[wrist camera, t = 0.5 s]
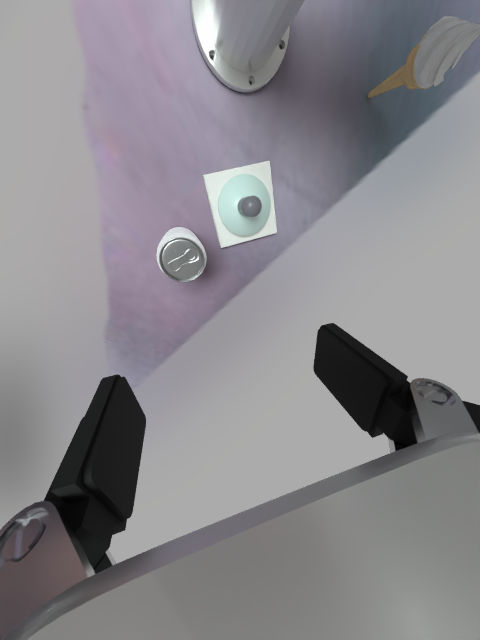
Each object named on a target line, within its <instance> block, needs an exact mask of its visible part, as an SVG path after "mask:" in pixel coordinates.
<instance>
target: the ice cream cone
mask: <svg viewBox="0 0 480 640" xmlns="http://www.w3.org/2000/svg"><path fill="white" fill-rule="evenodd" d="M479 35H480V24H476V23H472V22H469V21H465V20H463V19H458V18H456V17H451V16H444V17H443V18H442V19H440V20H439V21H437V22H436V23H435V24H434V25H433V26H432V27H431V28H430V29H429V30H428V31H427V32H426V33H425V35H424V36H423V37H422V39H421V41H420V42H419V43H418V45H416V46H415V47H414V48H413V49H412V51H411V52H410V54H409V56H408V58H407V60H406V63H405V65H404V66H402V67H401V68H400V69H398V70H397V71H396V72H394V73H393V74H392V75H391V76H389V77H388V78H387V79H386V80H384V81H383V82H382V83H381V84H379V85H378V86H377V87H376V88H374V89H373V90H372V91H370V92H369V94H368V98H371V97H374V96H376V95H379V94H381V93H384V92H386V91H389V90H392V89H394V88H397V87H399V86H401V85H404V84H405V85H406V87H407V88H408V89H411V90H413V89H416V88H419V89H422V90H423V89H427V88H430V87H431V86H432V85H434V87H435V86H437V85H438V84H439V83H441V82H442V81H444V74H445V72H446V71H447V70H448V69H449V68H450V67H451V69H453V68H454V66H455V65H456V64H457V62H458V61H459V60H460V58H461V56H462V54H463V52H464V51H465V50H467V49H468V48H469V47H470V45H471V44H472V43H473V41H474V40H475V39H476V38H477V37H478V36H479Z"/></svg>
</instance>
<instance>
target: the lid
mask: <svg viewBox="0 0 480 640" xmlns="http://www.w3.org/2000/svg"><path fill="white" fill-rule="evenodd" d="M270 209H271V201H270V195H269V192H268V190H267V188H266V186H265V185H264V183H263V182H262V181H261V180H260V179H258V178H257V177H255V176H253V175H250V174H240V175H237V176H235V177H233V178H231V179H230V180H229V181H228V182H227V183H226V184H225V185H224V186H223V188H222V190H221V192H220V195H219V199H218V212H219V216H220V218H221V221H222V223H223V224H224V226H225V227H226V228H227V229H228V230H229V231H231V232H232V233H235V234H237V235H240V236H249V235H252V234H255V233H256V232H258V231H259V230H260V229H261V228H262V227H263V226H264V225H265V223H266V222H267V220H268V217H269V214H270Z"/></svg>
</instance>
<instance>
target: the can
mask: <svg viewBox="0 0 480 640" xmlns="http://www.w3.org/2000/svg"><path fill="white" fill-rule="evenodd" d="M157 261H158V264H159V267H160V268H161V270H162V271H163V273H164V274H165V275H167V276H168V277H169V278H171V279H172V280H175V281H178V282H190V281H192V280H194V279H196V278H197V277H198V276H200V274H201V273H202V272H203V270H204V268H205V266H206V252H205V249H204V247H203V245H202V244H201V242H200V241H199V239H198V238H197V237H196V235H195V234H194V233H193V232H191V231H190V230H188V229H186V228H183V227H176V228H172V229H170V230H169V231H168V232H166V234H165V235H164V236H163V238H162V240H161V242H160V244H159V246H158V249H157Z"/></svg>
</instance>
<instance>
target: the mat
mask: <svg viewBox="0 0 480 640" xmlns="http://www.w3.org/2000/svg"><path fill="white" fill-rule="evenodd" d="M240 174H250V175H253V176H255V177H257V178H258V179H260V180H261V181H262V182H263V183H264V185H265V186H266V188H267V190H268V192H269V195H270V201H271V209H270V214H269V217H268V220H267V222H266V223H265V225H264V226H263V227H262V228H261V229H260V230H259V231H258V232H256V233H255V234H252V235H249V236H240V235H237V234H235V233H232V232H231V231H229V230H228V229H227V228H226V227H225V226H224V224H223V223H222V221H221V218H220V216H219V212H218V199H219V195H220V192H221V190H222V188H223V186H224V185H225V184H226V183H227V182H228V181H229V180H230V179H231V178H233V177H235V176H237V175H240ZM203 179H204V183H205V187H206V191H207V195H208V199H209V204H210V208H211V212H212V216H213V220H214V224H215V228H216V232H217V236H218V240H219V244H220V247H221V248H223V247H227V246H230V245H234V244H238V243H241V242H245V241H249V240H253V239H256V238H260V237H264V236H267V235H271V234H275V233H277V228H276V219H275V209H274V199H273V189H272V179H271V169H270V161H266V162H261V163H256V164H252V165H247V166H243V167H238V168H234V169H229V170H225V171H220V172H216V173H211V174H207V175H203Z"/></svg>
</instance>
